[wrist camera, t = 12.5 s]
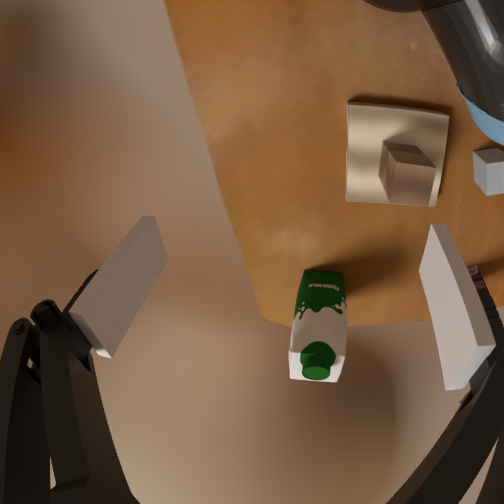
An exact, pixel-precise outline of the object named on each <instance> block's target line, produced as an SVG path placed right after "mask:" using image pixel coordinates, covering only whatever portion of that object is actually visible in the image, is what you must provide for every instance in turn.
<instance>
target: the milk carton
mask: <svg viewBox="0 0 504 504" xmlns="http://www.w3.org/2000/svg"><path fill="white" fill-rule="evenodd" d="M346 328H347V316H346V295H345V287H344V281H343V274H342V273H333V272H319V271H306V270H304V273H303V276H302V280H301V284H300V287H299V291H298V295H297V300H296V306H295V313H294V320H293V327H292V334H291V345H290V348H289V367H290V378H291V379H301V380H312V381H326V382H337V379H338V377H339V375H340V373H341V371H342V367H343V363H344V359H345V356H346V353H345V350H346V341H347V339H346V338H347V337H346V335H347V329H346Z"/></svg>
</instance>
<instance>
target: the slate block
mask: <svg viewBox="0 0 504 504" xmlns="http://www.w3.org/2000/svg"><path fill="white" fill-rule="evenodd" d="M473 165H474V182H475V183H476V184H477V185H478V186H479V187H480V188H481V190H482V191H483V192H484V193H485V194H486V196H489V195H495V194H501V193H504V152H503V151H501V150H500V149H499V148H493V149H485V150H478V151H473Z"/></svg>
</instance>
